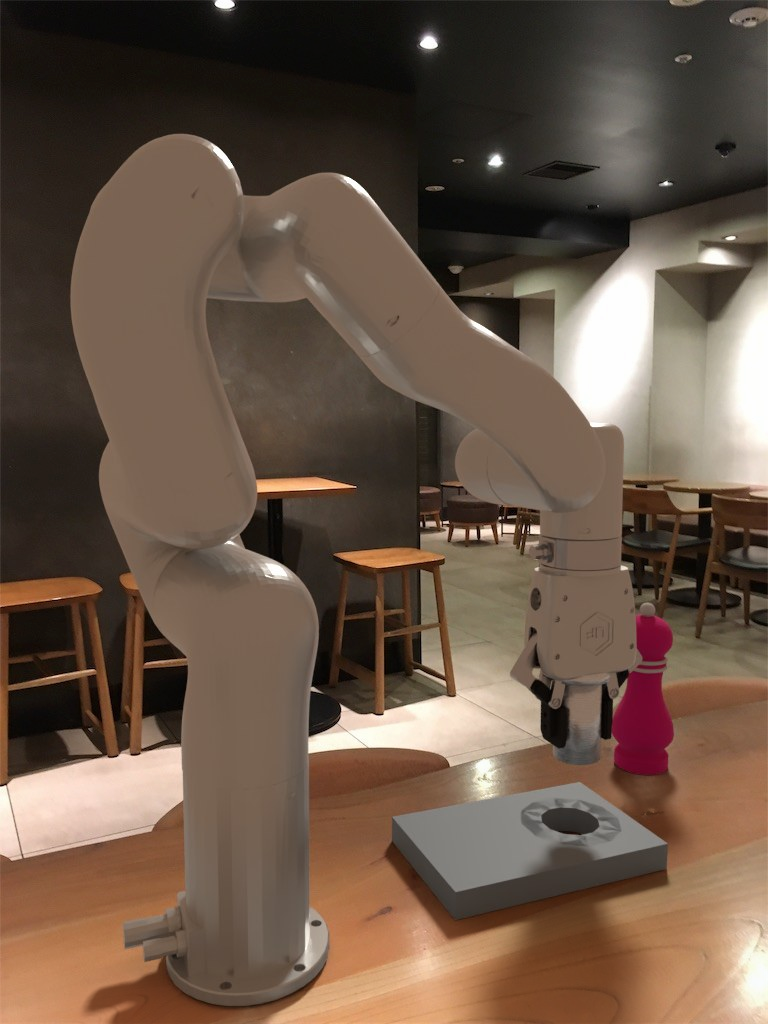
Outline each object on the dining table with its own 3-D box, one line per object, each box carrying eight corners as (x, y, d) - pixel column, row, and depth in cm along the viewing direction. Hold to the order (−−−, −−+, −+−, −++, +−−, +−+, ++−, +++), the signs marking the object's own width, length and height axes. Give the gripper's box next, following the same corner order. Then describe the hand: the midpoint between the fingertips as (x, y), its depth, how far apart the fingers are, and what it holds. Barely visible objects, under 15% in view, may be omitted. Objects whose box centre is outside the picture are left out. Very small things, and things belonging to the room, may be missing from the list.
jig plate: (455, 920, 70) (455, 892, 70) (391, 840, 83) (392, 816, 83) (666, 868, 78) (667, 843, 78) (579, 803, 91) (579, 781, 91)
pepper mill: (676, 780, 97) (684, 611, 95) (611, 774, 99) (618, 608, 96) (668, 755, 104) (675, 597, 102) (608, 750, 106) (614, 594, 103)
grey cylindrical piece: (567, 773, 78) (569, 679, 77) (533, 748, 83) (534, 660, 82) (621, 762, 80) (623, 671, 79) (584, 739, 85) (586, 653, 84)
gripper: (523, 568, 72) (521, 769, 75) (679, 553, 79) (672, 739, 81) (481, 554, 79) (481, 738, 82) (628, 541, 86) (623, 713, 88)
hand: (576, 736), depth 81 cm, fingers closed on grey cylindrical piece, 4 cm apart
